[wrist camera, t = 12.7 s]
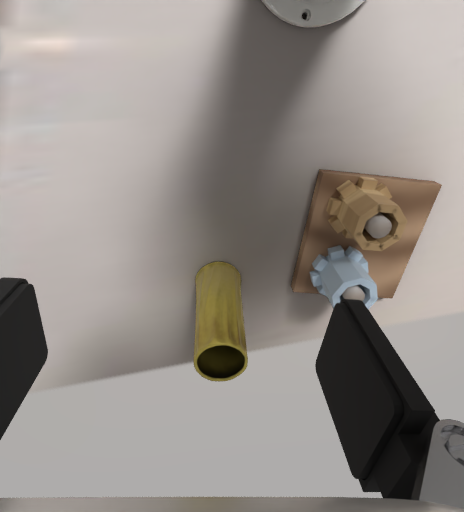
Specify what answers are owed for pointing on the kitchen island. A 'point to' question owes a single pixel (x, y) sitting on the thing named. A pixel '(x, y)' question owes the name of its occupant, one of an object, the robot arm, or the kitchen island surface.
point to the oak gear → (365, 213)
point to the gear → (343, 275)
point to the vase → (219, 323)
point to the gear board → (376, 260)
